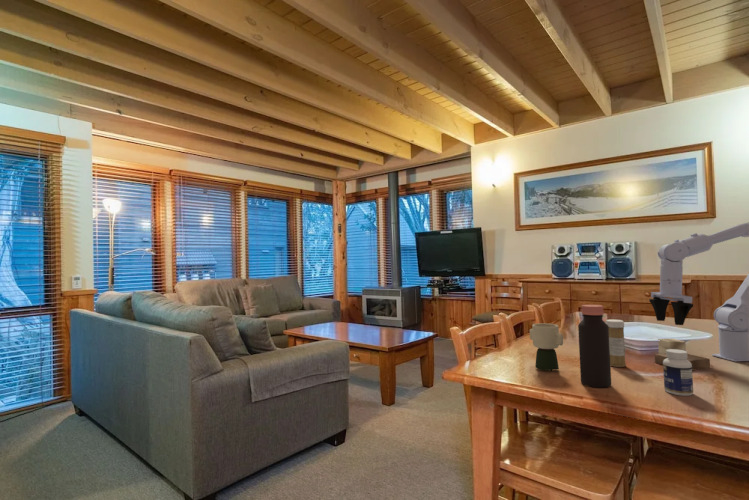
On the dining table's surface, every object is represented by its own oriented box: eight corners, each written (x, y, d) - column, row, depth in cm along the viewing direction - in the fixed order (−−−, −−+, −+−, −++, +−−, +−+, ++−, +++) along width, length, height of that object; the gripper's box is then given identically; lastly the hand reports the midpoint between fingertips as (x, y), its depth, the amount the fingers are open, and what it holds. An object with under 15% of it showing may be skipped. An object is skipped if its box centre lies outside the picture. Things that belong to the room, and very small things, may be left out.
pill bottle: (658, 389, 94) (656, 348, 94) (679, 388, 95) (677, 347, 95) (677, 397, 89) (675, 354, 89) (699, 395, 89) (697, 352, 89)
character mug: (572, 372, 110) (570, 326, 111) (555, 376, 107) (553, 328, 107) (539, 364, 120) (537, 321, 120) (523, 367, 116) (521, 324, 117)
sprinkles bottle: (611, 362, 119) (609, 318, 119) (628, 365, 115) (626, 320, 116) (605, 365, 116) (603, 320, 116) (622, 368, 112) (620, 321, 113)
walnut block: (679, 361, 119) (679, 352, 119) (710, 369, 111) (709, 358, 111) (655, 364, 118) (654, 354, 118) (684, 372, 109) (683, 361, 109)
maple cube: (673, 353, 128) (672, 338, 128) (686, 357, 123) (685, 341, 123) (658, 354, 128) (658, 339, 128) (670, 358, 123) (669, 342, 123)
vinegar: (614, 383, 99) (610, 305, 100) (606, 390, 94) (602, 307, 95) (585, 378, 104) (582, 303, 105) (577, 384, 99) (573, 306, 100)
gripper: (642, 278, 133) (641, 318, 133) (676, 281, 118) (675, 326, 118) (663, 279, 133) (661, 319, 133) (699, 282, 118) (698, 327, 118)
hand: (669, 322), depth 125 cm, fingers open, 7 cm apart
